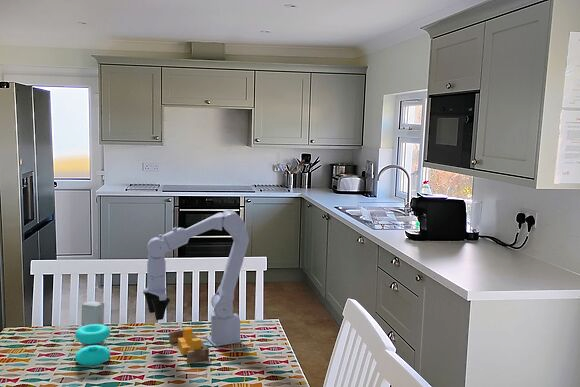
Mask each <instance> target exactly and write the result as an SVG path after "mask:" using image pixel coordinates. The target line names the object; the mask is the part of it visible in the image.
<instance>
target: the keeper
mask: <svg viewBox="0 0 580 387" xmlns="http://www.w3.org/2000/svg"><path fill="white" fill-rule="evenodd" d="M168 334H169V336H168V340H169V341H168V343H169V344H172V343H178V338H183V329H178V330H172V331H169V333H168ZM194 338H198V337H197V336H196V334H195V333H193V339H194ZM209 360H210V349H209V347H207V345H206V344H204V342H203V341H201V349H198V350H192V351H187V354H186V363H187V364H194V363H199V362H203V361H204V362H205V361H209Z"/></svg>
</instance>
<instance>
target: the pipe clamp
mask: <svg viewBox="0 0 580 387" xmlns="http://www.w3.org/2000/svg"><path fill="white" fill-rule="evenodd" d="M182 330H183V338H178V342H177V348H178V350H179V351H180V353H181V354H182V355H183V356H185V355H187V351H192V350H198V349H201V342H202V339H201V338H200V337H197V338H194V339H193V334H194V332H193V331H194V330H193V328H192V326H185V327H183V328H182Z"/></svg>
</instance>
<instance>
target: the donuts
mask: <svg viewBox="0 0 580 387" xmlns="http://www.w3.org/2000/svg"><path fill="white" fill-rule="evenodd" d="M110 335H111V329H110V327H109V326H107V325H105V324H104V325H102V324H90V325H85V326H82V327H79V328H77V329H76V331H75V332H74V337H75V339H76V340H77V341H78V342H80V343H83V344H92V345H88V346H84V347H82V348H80V349H78V351H77V352H76V354H75V357H74V358H75V361H76V363H78V364H79V365H82V366H86V367H87V366H92V367H93V366H98V365H101V364H103V363H106V362H107V361H108V360H109V359H110V356H111V352H110V349H109V348H108V347H106V346H104V345H98V344H99V343H101V342H103V341H105V340H106V339H108V338H109V336H110ZM97 343H98V344H97ZM94 344H95V345H94Z"/></svg>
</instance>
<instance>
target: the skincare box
mask: <svg viewBox="0 0 580 387" xmlns="http://www.w3.org/2000/svg"><path fill="white" fill-rule="evenodd" d="M104 320H105V303H104V302H101V301H100V302H99V301H94V300H88V301H86V302H83V303H82V304H81V325H80V326H81V327H82V326H85V325H90V324H102V325H105V324H104V322H105V321H104Z"/></svg>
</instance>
